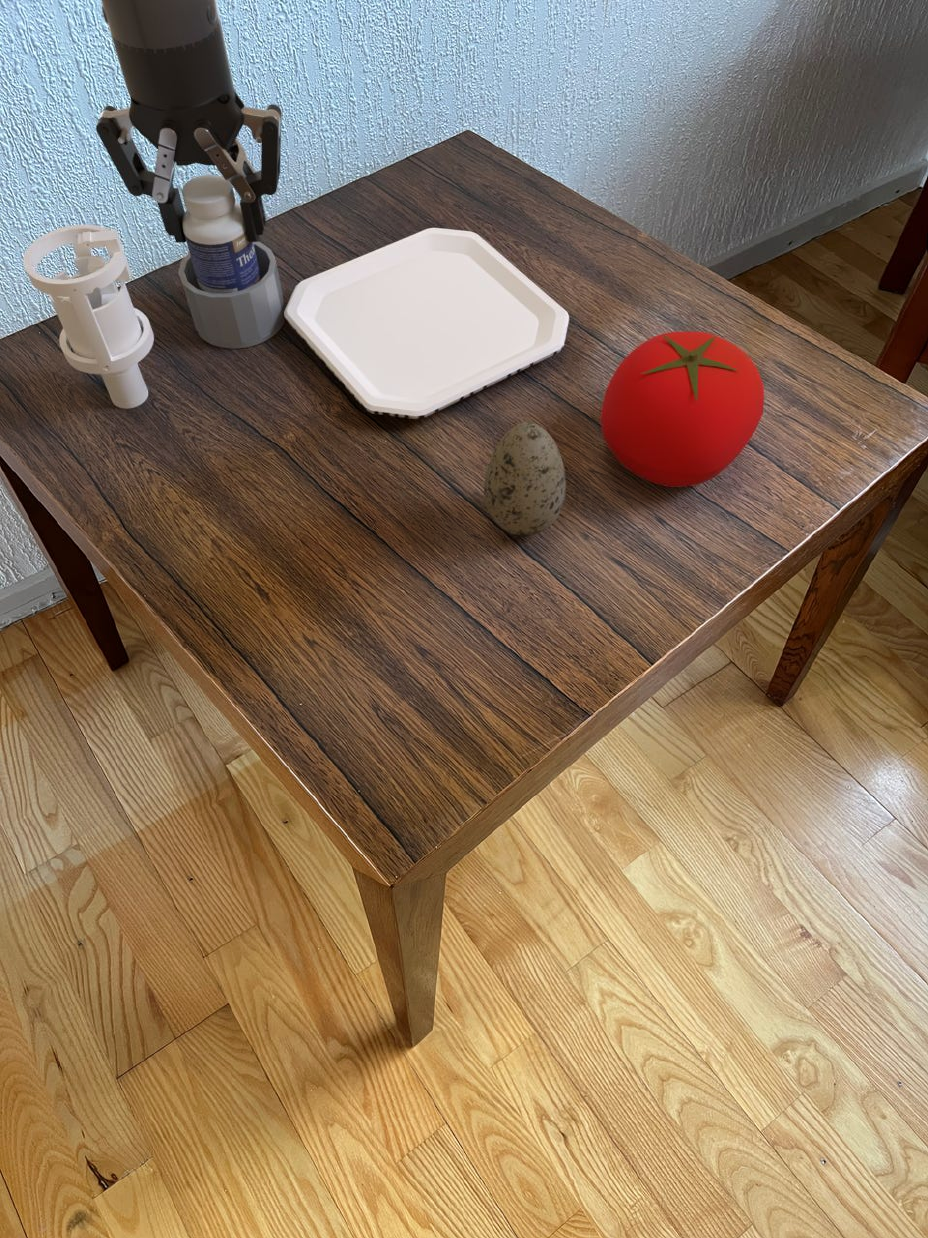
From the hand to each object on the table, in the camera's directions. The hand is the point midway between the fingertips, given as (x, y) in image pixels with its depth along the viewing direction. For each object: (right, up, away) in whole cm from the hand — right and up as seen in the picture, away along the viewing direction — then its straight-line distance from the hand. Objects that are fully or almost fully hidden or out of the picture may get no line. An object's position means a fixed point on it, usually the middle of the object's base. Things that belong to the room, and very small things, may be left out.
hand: (218, 235), depth 80 cm
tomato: (+37, -19, -3) cm, 42 cm away
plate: (+17, -6, +6) cm, 19 cm away
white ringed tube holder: (-8, -13, +2) cm, 15 cm away
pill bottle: (0, -3, +5) cm, 6 cm away
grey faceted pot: (0, -5, +7) cm, 8 cm away
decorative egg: (+25, -25, -7) cm, 36 cm away
